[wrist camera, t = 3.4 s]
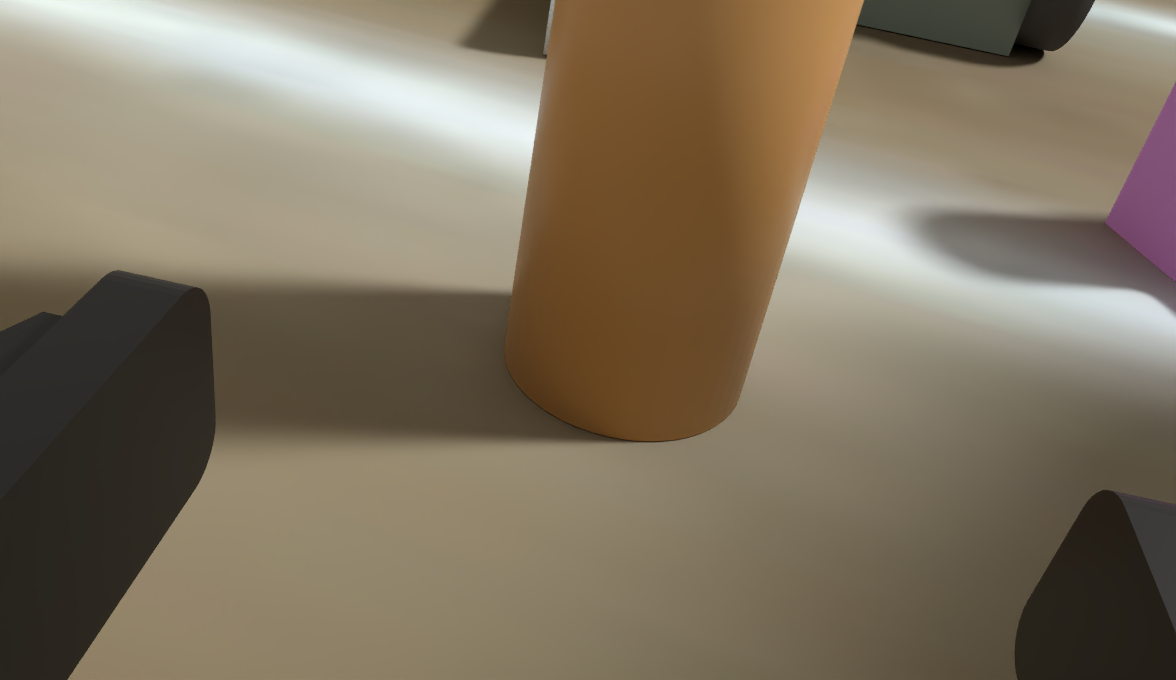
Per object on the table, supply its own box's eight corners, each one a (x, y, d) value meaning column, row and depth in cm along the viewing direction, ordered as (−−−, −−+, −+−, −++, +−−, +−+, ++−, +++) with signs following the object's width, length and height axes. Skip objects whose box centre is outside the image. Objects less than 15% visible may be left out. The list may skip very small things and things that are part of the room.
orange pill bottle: (752, 320, 23) (923, -239, 17) (748, 474, 19) (976, -198, 13) (521, 270, 23) (608, -304, 17) (466, 412, 19) (555, -284, 13)
